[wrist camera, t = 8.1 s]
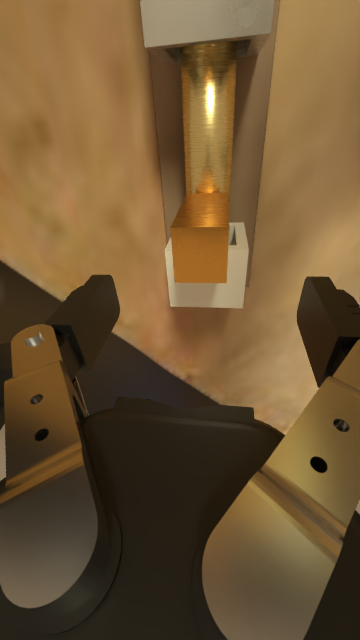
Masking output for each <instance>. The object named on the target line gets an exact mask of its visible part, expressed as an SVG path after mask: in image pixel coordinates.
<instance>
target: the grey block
mask: <svg viewBox="0 0 360 640" xmlns="http://www.w3.org/2000/svg"><path fill="white" fill-rule="evenodd" d="M273 5H274V0H140V6H141V16H142V26H143V36H144V46H145V48H146V49H147V50H148V51H149V52H151V53H152V54H153V55H154V56H155V57H157V58H158V59H159V60H160V61H161V62H163V63H164V64H165V65H171V64H181V59H180V47H185V46H194V45H203V44H211V43H220V42H229V41H238V45H237V58H238V57H248V56H258V54H259V53H260V51H261V49H262V47H263V46H264V44H265V42H266V40H267V39H268V37H269V35H270V33H271V25H272V15H273Z"/></svg>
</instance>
